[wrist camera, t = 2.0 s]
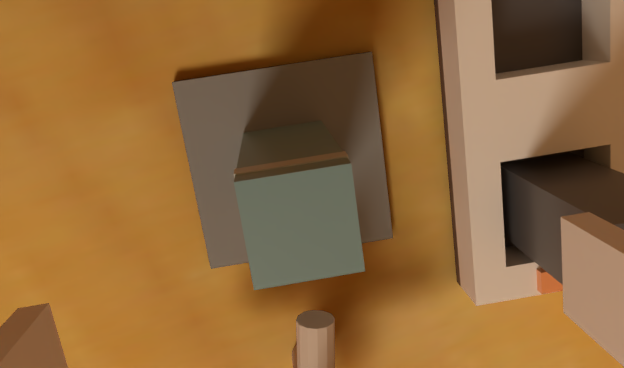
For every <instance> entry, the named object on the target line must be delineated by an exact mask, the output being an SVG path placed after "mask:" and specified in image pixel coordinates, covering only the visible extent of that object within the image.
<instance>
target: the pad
mask: <svg viewBox="0 0 624 368" xmlns="http://www.w3.org/2000/svg"><path fill="white" fill-rule="evenodd" d="M172 85H173V90H174V94H175V99H176V104H177V109H178V114H179V118H180V123H181V128H182V133H183V138H184V142H185V147H186V152H187V157H188V162H189V166H190V171H191V176H192V181H193V186H194V190H195V195H196V200H197V205H198V209H199V214H200V219H201V224H202V229H203V233H204V238H205V243H206V248H207V253H208V257H209V262H210V267H211V269H212V268H218V267H224V266H230V265H236V264H242V263H248V262H249V261H248V255H247V250H246V245H245V239H244V234H243V229H242V223H241V218H240V213H239V208H238V202H237V197H236V192H235V186H234V169H236V168H237V163H238V158H239V153H240V147H241V142H242V137H243V133H245V132H251V131H257V130H264V129H270V128H276V127H283V126H289V125H295V124H302V123H308V122H315V121H322V122H323V124H324V125H325V127H326V128H327V130H328V131H329V132H330V134H331V135H332V137H333V138H334V140H335V141H336V142H337V144H338V145H339V147H340V148H341V149H342V151H345V152H346V153H347V155H348V158H349V161H350V162H351V165H352V173H353V181H354V188H355V196H356V204H357V212H358V220H359V227H360V235H361V243H367V242H373V241H379V240H384V239H390V238H393V234H392V225H391V216H390V207H389V198H388V190H387V181H386V172H385V163H384V154H383V145H382V136H381V127H380V118H379V110H378V101H377V92H376V83H375V74H374V65H373V56H372V52H365V53H358V54H352V55H345V56H339V57H332V58H325V59H319V60H312V61H306V62H299V63H293V64H286V65H279V66H273V67H266V68H260V69H253V70H247V71H240V72H233V73H227V74H220V75H214V76H207V77H201V78H194V79H188V80H181V81H174V82H172Z"/></svg>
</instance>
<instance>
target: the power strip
mask: <svg viewBox="0 0 624 368" xmlns="http://www.w3.org/2000/svg"><path fill="white" fill-rule="evenodd" d="M434 5H435V17H436V30H437V42H438V54H439V66H440V79H441V91H442V103H443V115H444V128H445V140H446V152H447V164H448V177H449V189H450V201H451V213H452V226H453V238H454V250H455V262H456V275H457V282H458V283H459V285H460V286H461V287H462V288H463V290H464V291H465V292H466V293H467V295H468V296H469V297H470V298H471V300H472V301H473V302H474V303H475V305H476V306H478V305H484V304H490V303H496V302H501V301H507V300H513V299H518V298H524V297H530V296H535V295H541V294H547V293H553V292H558V291H563V285H562V284H561V283H560V282H558V281H557V280H556V279H555V278H553V277H552V276H551V275H550V274H549V273H547V272H546V271H545V270H544V269H543V268H541V267H540V266H539V265H538V264H537V263H535V262H534V261H533V260H532V259H530V258H529V257H528V256H527V255H526V254H524V253H523V252H522V251H521V250H520V249H518V248H517V247H516V246H515V245H514V244H512V243H511V242H510V241H509V240H507V239H506V238H505V237H504V220H503V202H502V184H501V166H500V164H504V163H510V162H516V161H522V160H528V159H534V158H541V157H547V156H553V155H559V154H565V153H571V154H574V155H577V156H579V157H582V158H585V159H587V160H590V161H592V162H595V163H598V164H600V165H603V166H606V167H608V168H611V169H614V170H616V171H619V172H622V173H624V0H434Z"/></svg>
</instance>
